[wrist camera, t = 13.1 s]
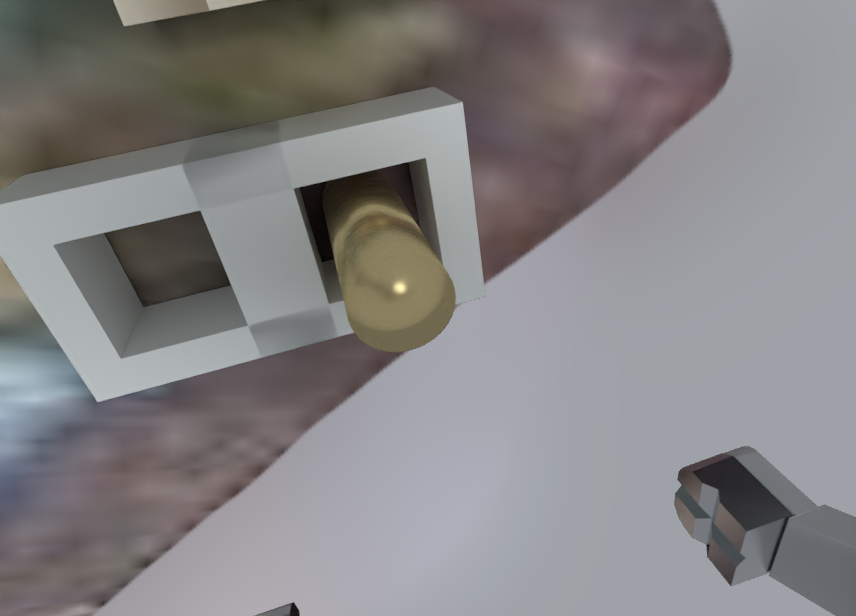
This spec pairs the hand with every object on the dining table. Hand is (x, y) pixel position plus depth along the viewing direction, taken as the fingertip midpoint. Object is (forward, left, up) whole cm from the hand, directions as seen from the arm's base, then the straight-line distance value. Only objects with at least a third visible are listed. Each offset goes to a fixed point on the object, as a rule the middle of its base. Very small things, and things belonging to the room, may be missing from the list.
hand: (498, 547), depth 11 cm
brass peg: (0, 0, -22) cm, 22 cm away
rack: (-5, 0, -22) cm, 22 cm away
